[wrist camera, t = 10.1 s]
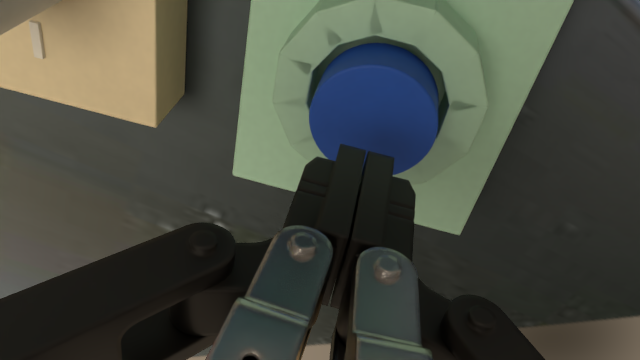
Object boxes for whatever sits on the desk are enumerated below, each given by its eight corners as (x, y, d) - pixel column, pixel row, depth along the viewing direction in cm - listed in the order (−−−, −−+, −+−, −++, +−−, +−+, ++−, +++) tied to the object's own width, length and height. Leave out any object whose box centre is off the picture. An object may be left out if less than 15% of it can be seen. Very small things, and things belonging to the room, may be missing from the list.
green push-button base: (283, -153, 17) (248, -139, 14) (588, -78, 17) (623, -47, 14) (246, 148, 24) (217, 201, 21) (458, 204, 24) (461, 266, 21)
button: (330, 27, 17) (321, 49, 15) (455, 59, 17) (457, 84, 15) (309, 133, 19) (298, 160, 18) (417, 162, 19) (416, 191, 18)
